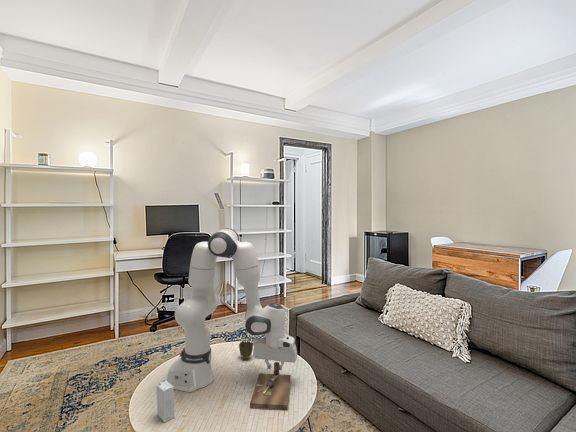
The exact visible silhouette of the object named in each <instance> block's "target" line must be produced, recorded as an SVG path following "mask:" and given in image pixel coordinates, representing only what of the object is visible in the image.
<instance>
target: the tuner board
mask: <svg viewBox="0 0 576 432" xmlns="http://www.w3.org/2000/svg"><path fill="white" fill-rule="evenodd" d="M291 375H292V374H281V373H279V375H278V376H277V378H276V379H275V381H274V382H273V387H272V388H269V389H268V390H267V392H266V393H265V395H263V392H264V391H265V389H266V388H267V380H271V379H272V378H273V376H274V373H265V372H264V373H263V372H262V373H261V372H259V373H258V375H257V378H256V382H255V386H254V388H253V392H252V395H251V399H250V402H249V408H250V409H257V410H258V409H259V410H260V409H261V410H277V411H278V410H279V411H289V410H288V409H289V398H290V397H289V396H290V392H291V391H290V390H291V389H290V388H291V380H292V378H291V377H292V376H291Z"/></svg>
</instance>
